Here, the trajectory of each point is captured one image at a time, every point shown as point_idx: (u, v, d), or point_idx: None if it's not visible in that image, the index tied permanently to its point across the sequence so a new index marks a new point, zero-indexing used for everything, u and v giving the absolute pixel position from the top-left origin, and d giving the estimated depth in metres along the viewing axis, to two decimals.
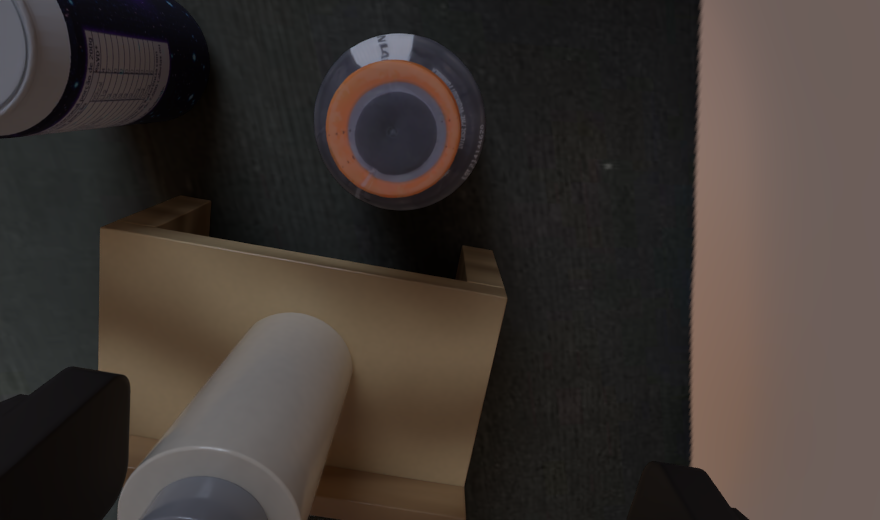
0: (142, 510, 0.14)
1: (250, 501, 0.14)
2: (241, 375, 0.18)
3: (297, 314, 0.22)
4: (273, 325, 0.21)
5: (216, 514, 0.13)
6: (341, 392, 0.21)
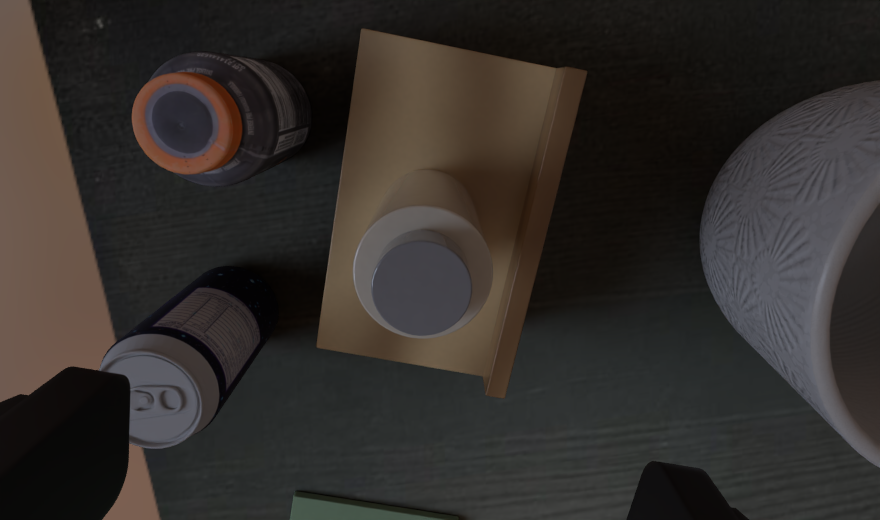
0: None
1: (392, 241, 0.19)
2: None
3: None
4: None
5: (378, 262, 0.18)
6: (419, 177, 0.25)
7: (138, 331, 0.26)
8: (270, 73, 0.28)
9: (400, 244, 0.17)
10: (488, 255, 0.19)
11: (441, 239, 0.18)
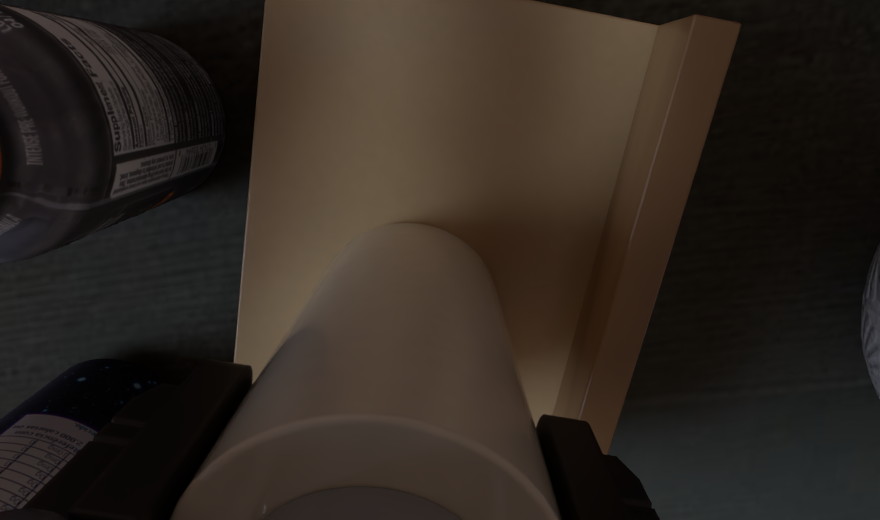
0: None
1: None
2: None
3: None
4: None
5: None
6: (386, 250, 0.12)
7: None
8: (115, 45, 0.15)
9: None
10: None
11: None
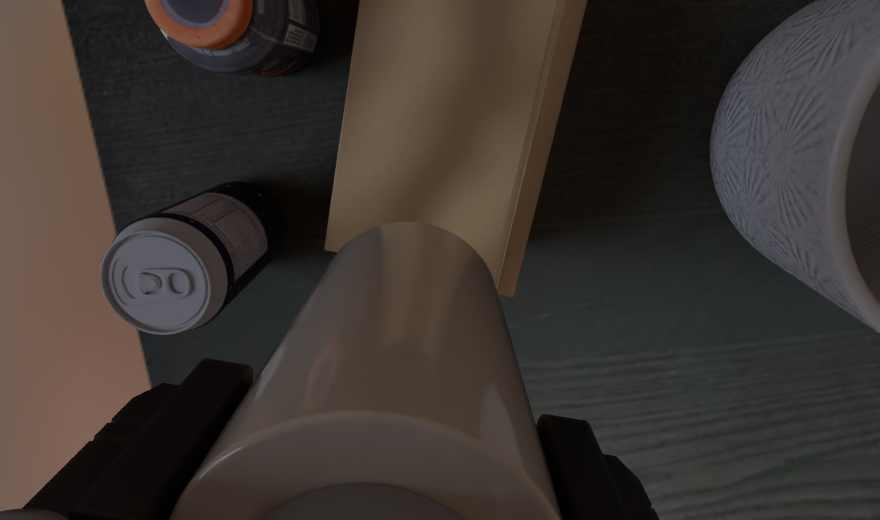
0: None
1: None
2: None
3: None
4: None
5: None
6: (386, 249, 0.12)
7: (147, 216, 0.26)
8: None
9: None
10: None
11: None
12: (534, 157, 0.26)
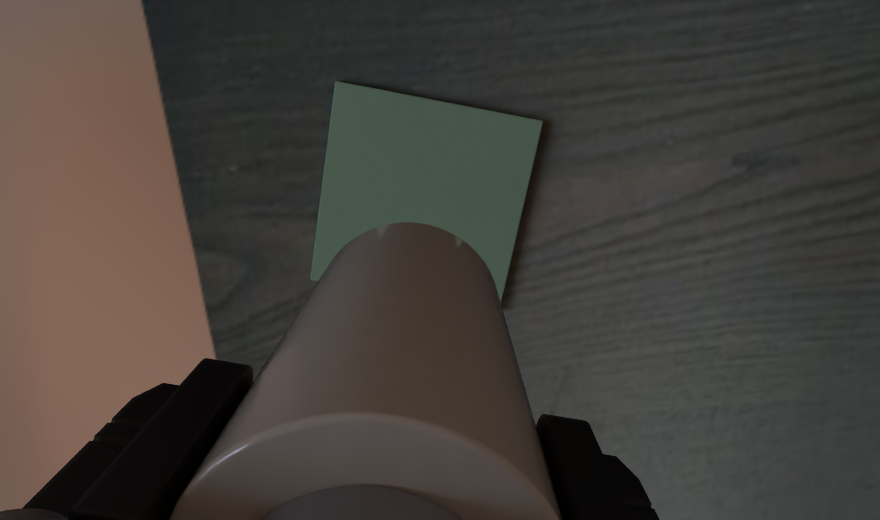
0: None
1: None
2: None
3: None
4: None
5: None
6: (386, 250, 0.12)
7: None
8: None
9: None
10: None
11: None
12: None
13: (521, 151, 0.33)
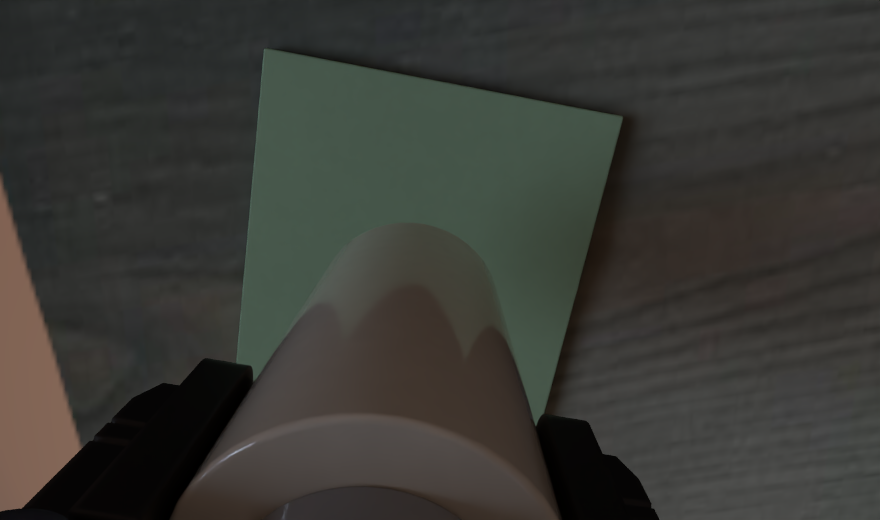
0: None
1: None
2: None
3: None
4: None
5: None
6: (386, 250, 0.12)
7: None
8: None
9: None
10: None
11: None
12: None
13: (584, 168, 0.19)
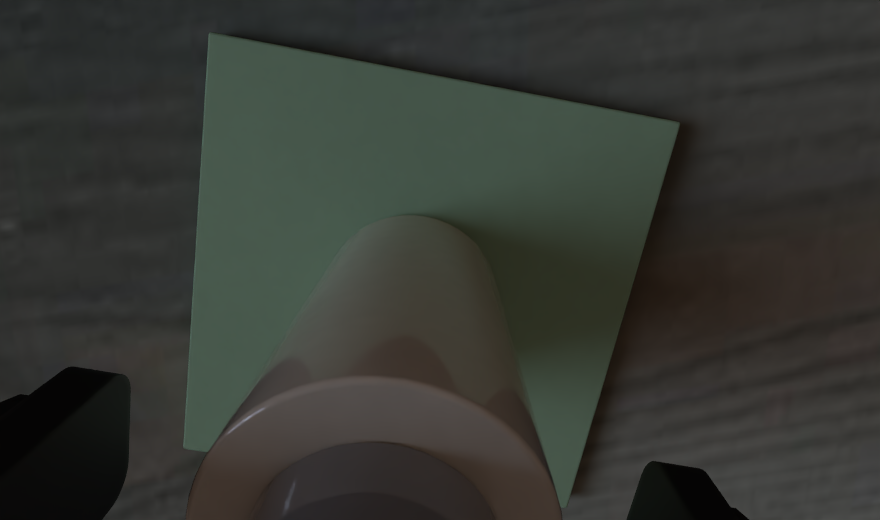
0: None
1: (282, 478, 0.07)
2: None
3: None
4: None
5: None
6: (390, 239, 0.13)
7: None
8: None
9: None
10: (552, 502, 0.07)
11: (419, 497, 0.06)
12: None
13: (628, 190, 0.15)
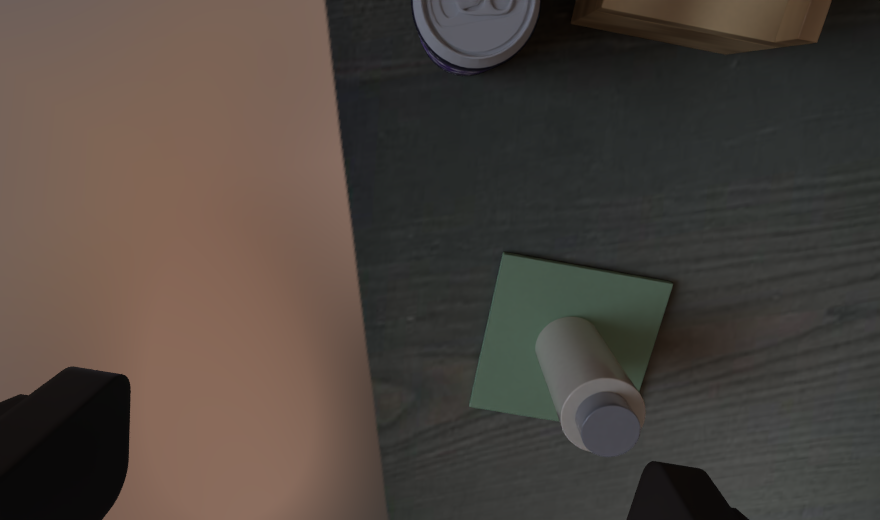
0: None
1: (588, 399, 0.31)
2: (548, 386, 0.35)
3: (536, 344, 0.40)
4: (538, 359, 0.39)
5: (584, 415, 0.30)
6: (575, 331, 0.37)
7: None
8: None
9: (600, 407, 0.30)
10: (643, 405, 0.32)
11: (621, 401, 0.31)
12: None
13: (653, 307, 0.40)
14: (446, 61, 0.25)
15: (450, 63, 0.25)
